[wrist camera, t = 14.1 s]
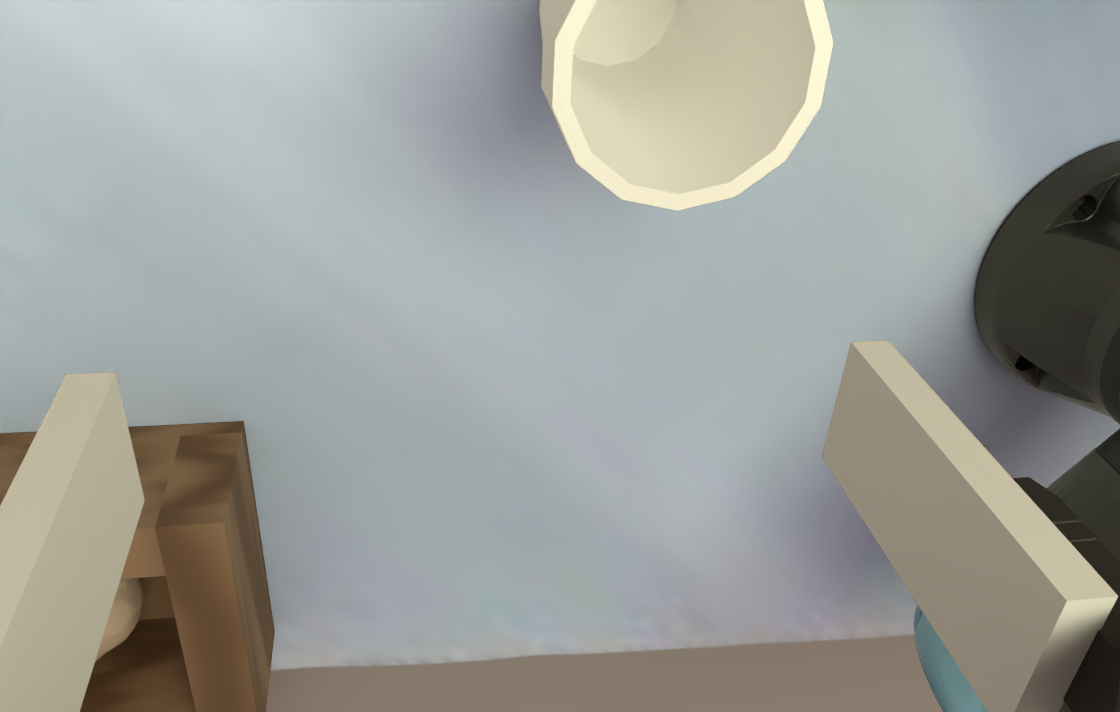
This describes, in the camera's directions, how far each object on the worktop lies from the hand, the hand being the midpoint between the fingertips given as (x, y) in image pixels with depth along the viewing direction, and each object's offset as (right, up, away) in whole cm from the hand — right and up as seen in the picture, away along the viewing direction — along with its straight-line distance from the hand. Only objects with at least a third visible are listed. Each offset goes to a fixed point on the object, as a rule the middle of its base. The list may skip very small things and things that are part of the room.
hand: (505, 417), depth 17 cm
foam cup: (+3, +17, +24) cm, 30 cm away
